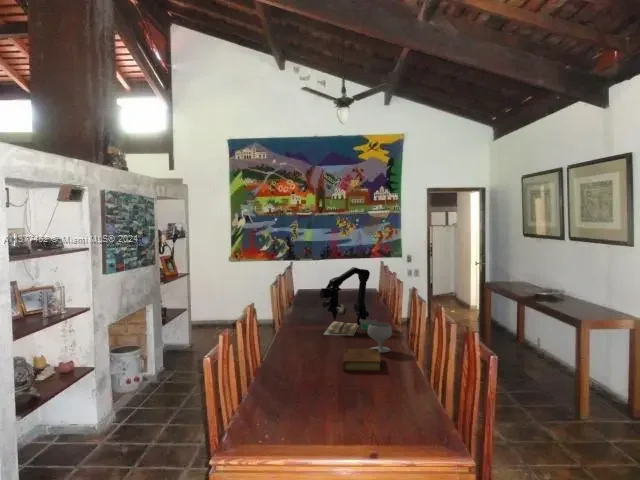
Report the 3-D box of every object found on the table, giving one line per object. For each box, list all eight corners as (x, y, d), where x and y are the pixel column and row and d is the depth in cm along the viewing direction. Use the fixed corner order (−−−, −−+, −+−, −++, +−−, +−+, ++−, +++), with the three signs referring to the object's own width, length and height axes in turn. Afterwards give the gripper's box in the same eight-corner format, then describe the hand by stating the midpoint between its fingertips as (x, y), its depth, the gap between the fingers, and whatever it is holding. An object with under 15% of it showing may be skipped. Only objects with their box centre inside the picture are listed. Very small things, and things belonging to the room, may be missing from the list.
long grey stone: (332, 316, 378) (344, 317, 377) (332, 310, 377) (345, 310, 377) (332, 306, 412) (344, 306, 412) (332, 300, 412) (344, 300, 412)
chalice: (393, 347, 277) (393, 322, 277) (390, 354, 264) (390, 327, 263) (369, 346, 281) (369, 321, 281) (365, 352, 268) (365, 326, 267)
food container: (356, 334, 311) (356, 319, 311) (360, 332, 317) (359, 317, 316) (374, 336, 305) (373, 320, 305) (377, 334, 311) (377, 319, 310)
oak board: (357, 326, 333) (357, 323, 333) (352, 334, 310) (352, 331, 310) (346, 325, 335) (346, 323, 335) (341, 333, 311) (341, 330, 311)
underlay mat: (358, 325, 336) (358, 325, 336) (353, 336, 307) (353, 335, 307) (331, 325, 340) (331, 324, 340) (323, 335, 311) (323, 334, 311)
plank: (344, 325, 335) (344, 322, 335) (339, 333, 312) (339, 330, 311) (333, 324, 337) (333, 321, 336) (327, 331, 313) (327, 328, 313)
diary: (343, 358, 259) (343, 348, 259) (378, 359, 258) (378, 348, 258) (343, 372, 236) (343, 360, 236) (381, 372, 235) (380, 360, 235)
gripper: (325, 294, 339) (325, 316, 340) (320, 299, 321) (320, 322, 322) (341, 295, 337) (341, 317, 338) (336, 299, 319) (336, 322, 319)
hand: (334, 319), depth 329 cm, fingers closed
